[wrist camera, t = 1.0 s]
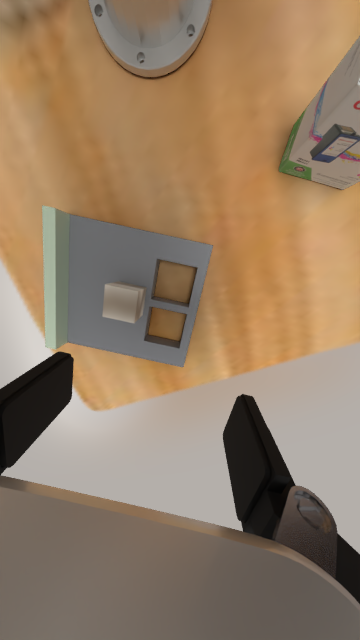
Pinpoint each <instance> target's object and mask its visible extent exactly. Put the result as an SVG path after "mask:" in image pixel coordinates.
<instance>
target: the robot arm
mask: <svg viewBox="0 0 360 640" xmlns="http://www.w3.org/2000/svg"><path fill="white" fill-rule="evenodd" d="M88 1H89V6H90V9H91V13H92V16H93V20H94V22H95V25H96V27H97V30H98V32H99V35H100V37H101V39H102V41H103V43H104V45H105V46H106V48H107V50H108V51H109V53H110V54H111V55H112V56H113V58H114V59H115V60H116V61H117V62H118V63H119V64H120V65H121V66H122V67H124V68H125V69H127V70H128V71H130V72H132V73H134V74H136V75H140V76H143V77H158V76H162V75H166V74H168V73H170V72H172V71H174V70H176V69H177V68H178V67H179V66H181V65H182V64H183V63H184V62H185V61H186V60H187V59H188V58H189V57H190V55H191V54H192V53H193V52H194V50H195V49H196V47H197V45H198V43H199V42H200V40H201V38H202V36H203V33H204V31H205V28H206V26H207V23H208V19H209V15H210V11H211V7H212V0H88ZM73 361H74V359H73V357H71V354H68V353H64V352H57V353H55V354H54V355H52V356H51V357H49V358H48V359H46V360H45V361H43V362H41V363H40V364H38V365H37V366H35V367H34V368H32V369H31V370H29V371H27V372H26V373H25V374H23V375H21V376H20V377H19V378H17V379H15V380H14V381H12V382H10V383H9V384H7V385H6V386H5V387H3V388H1V389H0V475H1V473H3V472H4V470H5V469H6V468H7V467H8V468H9V467H11V466H13V465H14V464H15V463H16V461H17V460H18V459H19V458H20V457H21V456H22V455H23V454H24V453H25V451H26V450H27V449H28V448H29V447H30V446H31V445H32V444H33V442H34V441H35V440H36V439H37V438H38V437H39V436H40V435H41V433H42V432H43V431H44V430H45V429H46V428H47V427H48V426H49V425H50V423H51V422H52V421H53V420H54V419H55V418H56V417H57V416H58V414H59V413H60V412H61V411H62V410H63V409H64V408H65V407H66V405H67V404H68V403H69V402H70V400H71V397H72V381H73ZM223 442H224V447H225V453H226V458H227V464H228V469H229V475H230V480H231V486H232V492H233V497H234V503H235V508H236V513H237V517H238V520H239V521H241V522H242V528H243V532H242V531H239V530H235V529H231V528H227V527H223V526H219V525H215V524H211V523H207V522H203V521H199V520H195V519H190V518H186V517H181V516H177V515H173V514H169V513H164V512H160V511H156V510H152V509H148V508H144V507H138V506H135V505H130V504H126V503H122V502H117V501H113V500H109V499H104V498H100V497H95V496H91V495H87V494H82V493H78V492H74V491H69V490H65V489H60V488H56V487H51V486H47V485H42V484H37V483H32V482H28V481H24V480H19V479H15V478H10V477H6V476H0V640H360V554H359V553H358V552H356V550H354V549H353V548H352V547H351V546H350V545H349V544H348V543H347V542H346V541H345V540H344V539H343V538H342V537H341V536H340V535H339V534H338V533H337V527H336V523H335V521H334V518H333V516H332V514H331V513H330V511H329V510H328V508H327V507H326V506H325V504H324V503H323V502H322V501H321V500H320V499H319V498H318V497H317V496H316V495H315V494H314V493H312V492H311V491H310V490H308V489H306V488H304V487H302V486H296V485H295V483H294V481H293V479H292V477H291V475H290V473H289V470H288V468H287V466H286V464H285V462H284V460H283V458H282V456H281V454H280V452H279V449H278V447H277V445H276V443H275V441H274V439H273V437H272V435H271V432H270V430H269V429H268V427H267V425H266V423H265V421H264V419H263V417H262V415H261V412H260V410H259V408H258V406H257V404H256V402H255V400H254V398H253V397H252V396H248V395H244V394H242V395H241V396H238V397H237V399H236V401H235V404H234V406H233V409H232V411H231V414H230V416H229V419H228V422H227V424H226V427H225V429H224V432H223Z"/></svg>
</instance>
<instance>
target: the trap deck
mask: <svg viewBox="0 0 360 640" xmlns="http://www.w3.org/2000/svg"><path fill="white" fill-rule="evenodd" d="M42 214H43V259H44V303H45V346H46V347H47V348H52V349H57V348H59V347H60V346H62V345H64V344H65V343H67V342H69V343H73V344H78V345H83V346H87V347H92V348H96V349H101V350H106V351H110V352H115V353H119V354H124V355H129V356H133V357H138V358H142V359H147V360H152V361H156V362H161V363H166V364H170V365H175V366H179V367H184V363H185V359H186V354H187V350H188V346H189V342H190V338H191V334H192V330H193V326H194V322H195V317H196V313H197V309H198V305H199V301H200V297H201V293H202V289H203V285H204V281H205V276H206V272H207V268H208V264H209V260H210V256H211V252H212V248H213V245H209V244H204V243H200V242H195V241H190V240H186V239H181V238H177V237H172V236H167V235H163V234H158V233H154V232H149V231H144V230H140V229H135V228H131V227H126V226H121V225H117V224H112V223H108V222H103V221H98V220H94V219H89V218H85V217H80V216H75V215H71V214H68V213H65V212H63V211H61V210H58V209H56V208H52V207H47V206H43V205H42ZM160 259H161V260H165V261H170V262H175V263H179V264H184V265H188V266H193V267H197V271H196V275H195V280H194V284H193V288H192V293H191V297H190V302H189V304H187V303H183V302H178V301H173V300H169V299H164V298H159V297H155V296H154V293H155V287H156V281H157V275H158V269H159V263H160ZM118 281H119V282H123V283H128V284H133V285H137V286H142V287H147V289H146V296H145V303H144V309H143V315H142V316H141V317H140V318H139V319H138V320H137V321H136V322H135V323H130V322H125V321H121V320H116V319H111V318H107V317H102V315H103V303H104V290H105V284H109V283H113V282H118ZM152 307H156V308H161V309H165V310H170V311H174V312H179V313H184V314H187V315H186V319H185V324H184V328H183V333H182V337H181V341H180V342H179V341H174V340H169V339H165V338H160V337H156V336H151V335H148V330H149V324H150V318H151V311H152Z"/></svg>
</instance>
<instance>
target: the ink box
mask: <svg viewBox="0 0 360 640" xmlns="http://www.w3.org/2000/svg"><path fill="white" fill-rule="evenodd" d="M279 172H283V173H286V174H290V175H293V176H297V177H301V178H304V179H308V180H312V181H315V182H318V183H322V184H325V185H329V186H332V187H336V188H339V189H341V190H344V189H346V188H348V187H350V186H352V185H354V184H356V183H358V182H360V36H359V38H358V39H357V40H356V42H355V43H354V44H353V46H352V47H351V48H350V50H349V51H348V52H347V54H346V55H345V56H344V58H343V59H342V60H341V62H340V63H339V64H338V66H337V67H336V69H335V70H334V71H333V73H332V74H331V75H330V77H329V78H328V79H327V81H326V82H325V84H324V85H323V86H322V88H321V89H320V90H319V92H318V93H317V94H316V96H315V97H314V98H313V100H312V101H311V102H310V104H309V105H308V107H307V108H306V109H305V111H304V112H303V113H302V115H301V116H300V117H299V119H298V120H297V122H296V123H295V124H294V127H293V129H292V132H291V135H290V138H289V141H288V144H287V146H286V149H285V152H284V155H283V158H282V161H281V164H280V167H279Z"/></svg>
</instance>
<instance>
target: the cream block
mask: <svg viewBox="0 0 360 640" xmlns="http://www.w3.org/2000/svg"><path fill="white" fill-rule="evenodd" d="M146 289H147V287H142V286H137V285H133V284H128V283H123V282H119V281H118V282H113V283H109V284H105V290H104V303H103V315H102V317H107V318H111V319H116V320H121V321H125V322H130V323H135V322H136V321H137V320H138V319H139V318H140V317H141V316H142V315H143V309H144V303H145V296H146Z"/></svg>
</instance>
